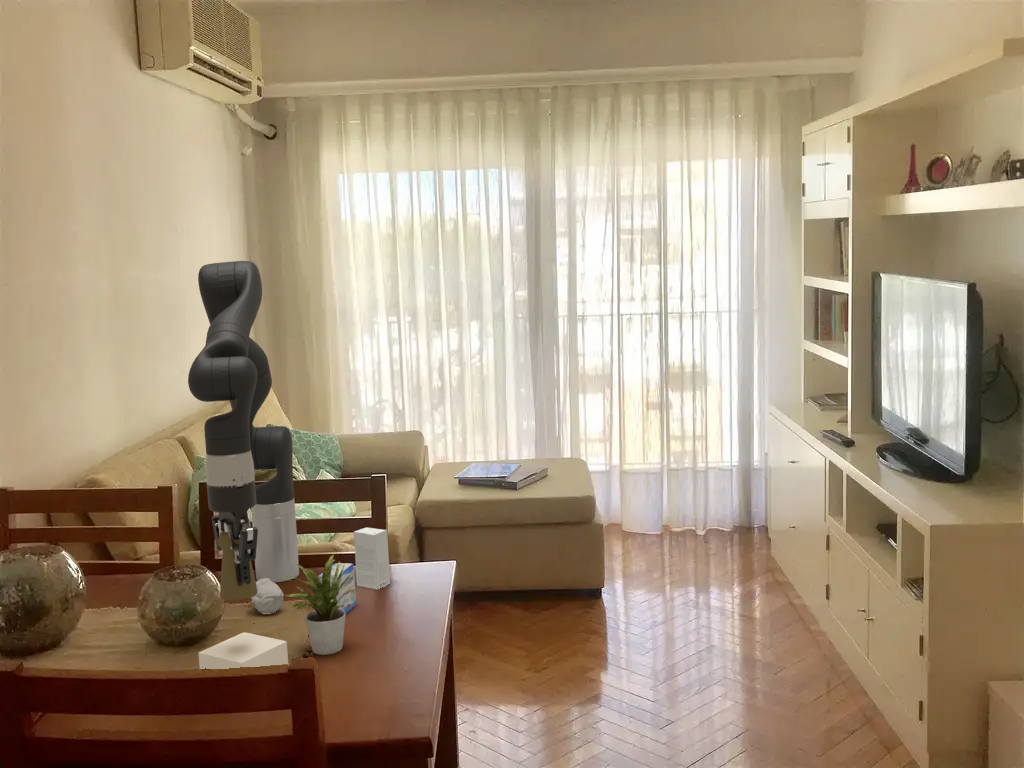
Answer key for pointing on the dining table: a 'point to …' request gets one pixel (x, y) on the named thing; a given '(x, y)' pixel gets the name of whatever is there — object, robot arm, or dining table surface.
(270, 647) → the cream block
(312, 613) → the house plant
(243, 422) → the robot arm
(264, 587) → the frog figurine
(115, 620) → the dining table surface
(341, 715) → the dining table surface
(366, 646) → the dining table surface
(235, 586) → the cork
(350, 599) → the medicine box
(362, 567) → the skincare box
